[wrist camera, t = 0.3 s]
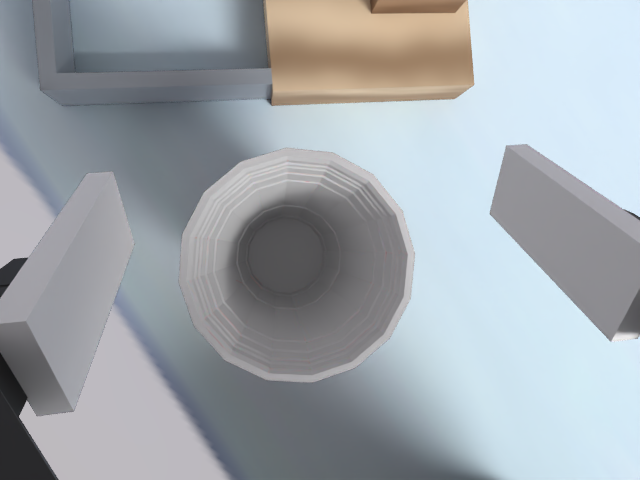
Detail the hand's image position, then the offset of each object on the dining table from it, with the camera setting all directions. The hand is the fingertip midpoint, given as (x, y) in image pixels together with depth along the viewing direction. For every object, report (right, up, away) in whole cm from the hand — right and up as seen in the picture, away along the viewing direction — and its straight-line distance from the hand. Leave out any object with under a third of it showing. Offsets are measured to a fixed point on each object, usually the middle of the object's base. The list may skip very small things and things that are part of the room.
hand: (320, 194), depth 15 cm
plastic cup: (-3, -3, +17) cm, 17 cm away
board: (+3, +17, +17) cm, 24 cm away
